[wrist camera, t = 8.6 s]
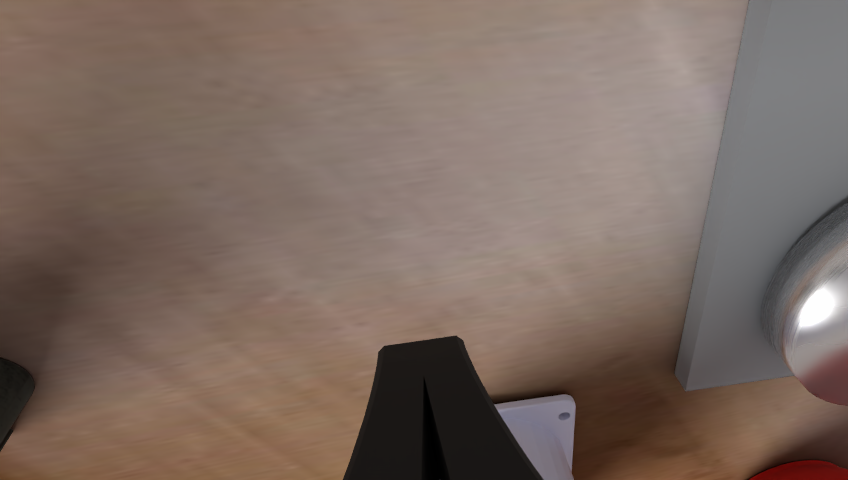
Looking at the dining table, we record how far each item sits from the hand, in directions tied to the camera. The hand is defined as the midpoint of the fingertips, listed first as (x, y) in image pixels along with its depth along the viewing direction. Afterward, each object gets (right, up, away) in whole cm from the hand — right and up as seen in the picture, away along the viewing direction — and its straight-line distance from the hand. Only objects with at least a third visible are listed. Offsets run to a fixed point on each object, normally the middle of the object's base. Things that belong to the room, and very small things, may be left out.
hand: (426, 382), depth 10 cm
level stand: (+17, +4, +10) cm, 21 cm away
